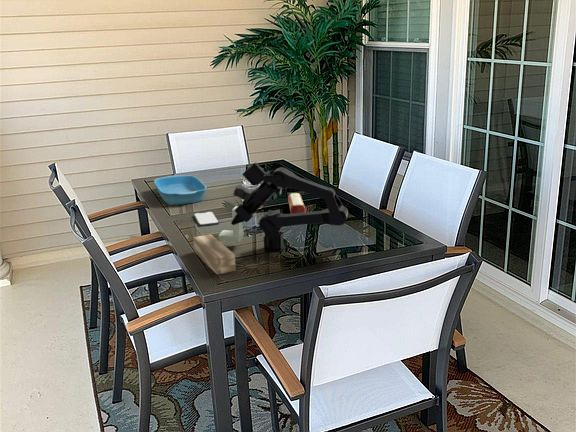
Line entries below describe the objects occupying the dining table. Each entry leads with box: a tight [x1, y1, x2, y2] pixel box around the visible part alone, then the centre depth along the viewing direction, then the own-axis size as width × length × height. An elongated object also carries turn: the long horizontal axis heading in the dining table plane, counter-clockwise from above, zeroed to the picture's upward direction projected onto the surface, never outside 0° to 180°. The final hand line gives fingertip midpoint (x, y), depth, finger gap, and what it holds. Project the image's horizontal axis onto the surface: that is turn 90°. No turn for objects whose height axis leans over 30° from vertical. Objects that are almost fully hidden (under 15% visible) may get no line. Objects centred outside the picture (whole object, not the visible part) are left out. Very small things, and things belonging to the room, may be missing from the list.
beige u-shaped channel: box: [192, 233, 237, 275], centre depth 204 cm, size 7×24×6 cm, turn 27°
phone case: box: [193, 211, 220, 228], centre depth 249 cm, size 9×2×16 cm
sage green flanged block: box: [218, 205, 244, 242], centre depth 215 cm, size 8×6×12 cm
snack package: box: [287, 192, 307, 214], centre depth 258 cm, size 21×7×7 cm, turn 3°
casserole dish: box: [153, 174, 207, 206], centre depth 285 cm, size 37×22×7 cm, turn 22°
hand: (233, 221), depth 215 cm, fingers closed on sage green flanged block, 5 cm apart
